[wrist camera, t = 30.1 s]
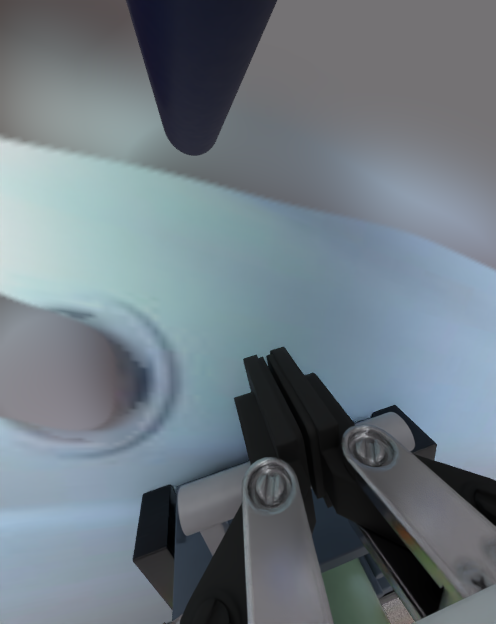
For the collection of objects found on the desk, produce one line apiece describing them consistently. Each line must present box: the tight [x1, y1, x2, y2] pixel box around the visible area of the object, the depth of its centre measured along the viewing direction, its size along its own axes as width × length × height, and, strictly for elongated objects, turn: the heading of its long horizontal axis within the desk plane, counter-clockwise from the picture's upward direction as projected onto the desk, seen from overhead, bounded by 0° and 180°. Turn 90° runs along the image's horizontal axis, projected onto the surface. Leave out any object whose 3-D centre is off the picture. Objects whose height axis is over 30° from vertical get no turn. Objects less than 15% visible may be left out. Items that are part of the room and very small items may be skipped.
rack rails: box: [133, 405, 437, 610], centre depth 17 cm, size 18×16×3 cm
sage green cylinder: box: [321, 558, 391, 624], centre depth 14 cm, size 6×6×7 cm
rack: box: [172, 412, 415, 621], centre depth 14 cm, size 19×12×5 cm, turn 12°
